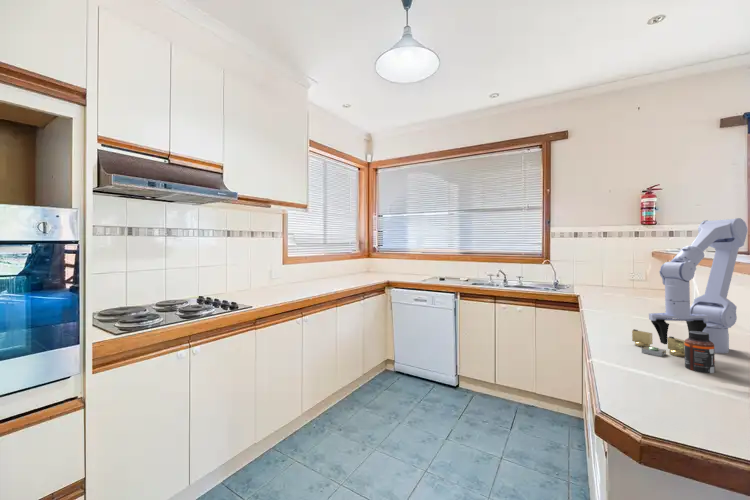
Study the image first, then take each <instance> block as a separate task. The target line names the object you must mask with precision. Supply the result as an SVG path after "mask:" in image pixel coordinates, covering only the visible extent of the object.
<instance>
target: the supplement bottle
mask: <svg viewBox="0 0 750 500" xmlns="http://www.w3.org/2000/svg"><path fill="white" fill-rule="evenodd" d="M689 336H690V337H689ZM684 340H685V342H684V343H685V357H684V367H685V368H686V370H689V371H692V372H697V373H701V374H702V373H703V374H714V373H716V367H715V366H716V363H715V360H716V359H715V358H716V357H715V354H716V353H714V343H713V342H711V341H710V340H709V334H708V333H706V332H700V331H688V337H687V338H686V339H684Z"/></svg>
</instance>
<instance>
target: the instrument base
mask: <svg viewBox="0 0 750 500" xmlns="http://www.w3.org/2000/svg"><path fill="white" fill-rule="evenodd" d="M641 354H646V355H650V356H656V357H662V358H663V356H666V355H667V351H666V349H661V348H659V347H657V346H650V347H647V346H646V347H641Z"/></svg>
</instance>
